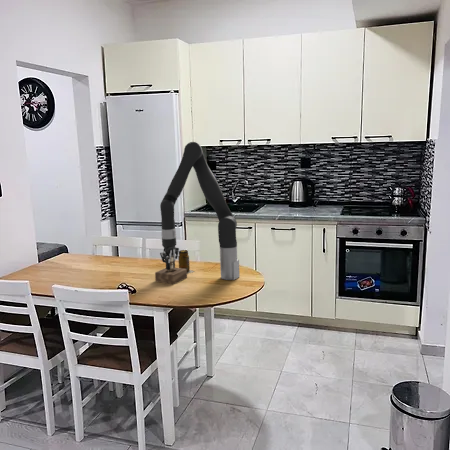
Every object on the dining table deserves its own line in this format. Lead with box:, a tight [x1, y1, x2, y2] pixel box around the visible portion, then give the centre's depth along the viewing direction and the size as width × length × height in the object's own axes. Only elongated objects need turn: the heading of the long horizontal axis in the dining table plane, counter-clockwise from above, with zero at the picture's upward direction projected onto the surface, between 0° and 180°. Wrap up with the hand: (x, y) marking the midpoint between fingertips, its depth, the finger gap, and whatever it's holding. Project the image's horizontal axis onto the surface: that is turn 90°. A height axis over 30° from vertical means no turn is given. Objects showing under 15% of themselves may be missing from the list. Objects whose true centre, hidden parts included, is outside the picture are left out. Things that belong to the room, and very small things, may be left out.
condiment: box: [177, 249, 195, 274], centre depth 243 cm, size 7×8×12 cm
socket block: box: [154, 267, 188, 285], centre depth 230 cm, size 12×12×5 cm
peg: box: [167, 256, 174, 272], centre depth 229 cm, size 4×4×8 cm
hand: (170, 268), depth 229 cm, fingers closed on peg, 3 cm apart
